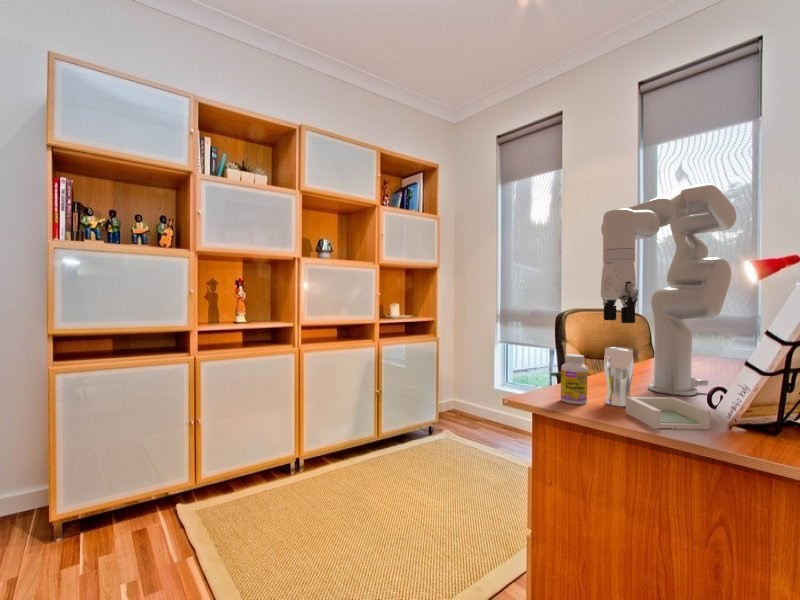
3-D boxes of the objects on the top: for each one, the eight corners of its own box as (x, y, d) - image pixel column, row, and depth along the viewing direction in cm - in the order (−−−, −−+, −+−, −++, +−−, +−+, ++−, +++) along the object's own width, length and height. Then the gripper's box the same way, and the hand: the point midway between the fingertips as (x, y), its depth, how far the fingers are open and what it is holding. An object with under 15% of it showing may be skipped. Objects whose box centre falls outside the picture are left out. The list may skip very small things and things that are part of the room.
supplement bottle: (561, 403, 111) (561, 356, 111) (560, 398, 117) (560, 352, 117) (588, 406, 109) (588, 357, 109) (585, 400, 115) (586, 354, 115)
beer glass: (637, 408, 107) (637, 350, 106) (607, 407, 108) (608, 349, 108) (627, 401, 114) (628, 347, 113) (600, 400, 115) (601, 346, 115)
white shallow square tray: (675, 413, 102) (675, 397, 102) (709, 429, 90) (709, 411, 90) (625, 412, 103) (626, 396, 103) (653, 428, 91) (654, 410, 91)
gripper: (590, 259, 118) (590, 319, 119) (620, 254, 101) (620, 324, 101) (617, 259, 118) (617, 319, 118) (652, 254, 101) (651, 324, 101)
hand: (618, 321), depth 110 cm, fingers open, 9 cm apart
